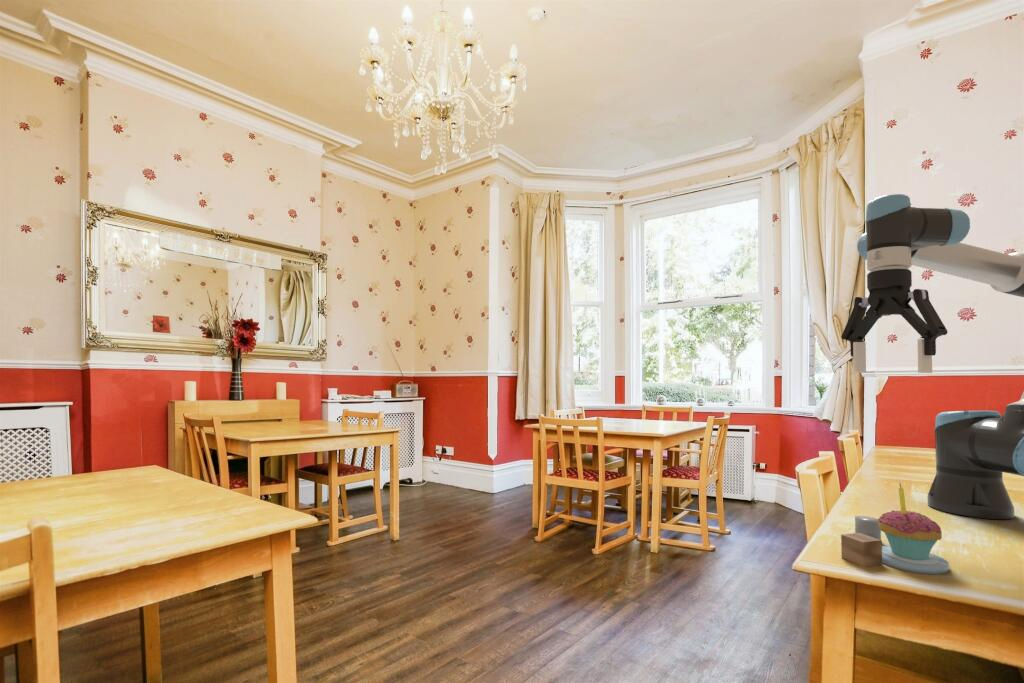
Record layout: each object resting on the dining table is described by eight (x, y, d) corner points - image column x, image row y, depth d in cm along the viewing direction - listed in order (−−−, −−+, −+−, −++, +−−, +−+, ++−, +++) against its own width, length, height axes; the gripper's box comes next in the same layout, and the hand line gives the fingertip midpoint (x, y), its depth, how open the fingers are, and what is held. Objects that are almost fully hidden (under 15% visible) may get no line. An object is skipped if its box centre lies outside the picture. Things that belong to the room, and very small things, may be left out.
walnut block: (859, 556, 89) (859, 532, 89) (882, 565, 85) (881, 540, 85) (841, 558, 88) (841, 534, 88) (863, 567, 84) (863, 542, 84)
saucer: (901, 549, 92) (901, 542, 92) (964, 571, 83) (964, 563, 83) (859, 554, 89) (858, 547, 89) (919, 577, 80) (919, 569, 80)
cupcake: (922, 567, 81) (920, 489, 81) (866, 549, 88) (865, 478, 89) (953, 560, 84) (952, 485, 85) (897, 543, 92) (896, 475, 92)
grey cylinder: (866, 536, 100) (865, 515, 100) (886, 543, 96) (886, 521, 96) (850, 537, 99) (849, 516, 99) (870, 544, 95) (869, 522, 95)
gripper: (822, 278, 119) (823, 371, 118) (940, 257, 95) (943, 372, 94) (847, 281, 121) (849, 371, 120) (969, 260, 97) (972, 373, 96)
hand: (890, 372), depth 107 cm, fingers open, 13 cm apart
